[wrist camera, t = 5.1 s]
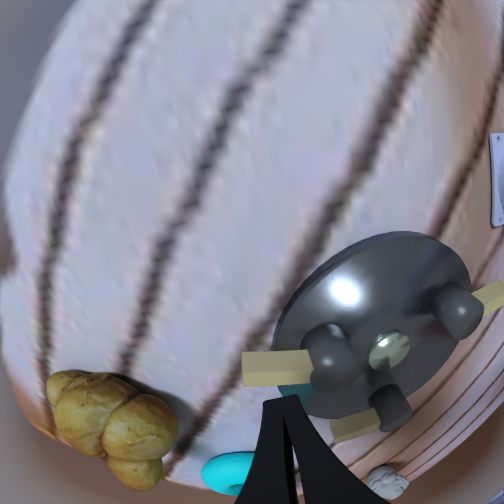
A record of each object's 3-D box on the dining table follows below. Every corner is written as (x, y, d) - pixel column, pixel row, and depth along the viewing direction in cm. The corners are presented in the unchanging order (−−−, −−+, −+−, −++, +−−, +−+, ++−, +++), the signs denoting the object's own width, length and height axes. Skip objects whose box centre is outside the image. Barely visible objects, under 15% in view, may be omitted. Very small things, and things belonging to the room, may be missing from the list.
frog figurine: (396, 464, 34) (409, 494, 27) (359, 479, 34) (369, 510, 28) (400, 452, 32) (415, 485, 25) (359, 469, 32) (370, 504, 25)
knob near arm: (428, 322, 19) (449, 346, 16) (432, 288, 18) (457, 310, 15) (486, 295, 19) (507, 312, 16) (491, 262, 17) (516, 279, 14)
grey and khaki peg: (349, 322, 18) (367, 353, 15) (339, 358, 19) (354, 389, 16) (241, 327, 17) (243, 362, 14) (240, 364, 18) (243, 399, 16)
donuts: (277, 538, 21) (195, 537, 19) (269, 479, 30) (197, 475, 29) (308, 522, 17) (204, 524, 16) (294, 449, 27) (206, 444, 25)
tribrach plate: (469, 209, 17) (486, 217, 16) (445, 369, 24) (454, 381, 22) (245, 268, 18) (246, 283, 16) (289, 425, 25) (293, 442, 23)
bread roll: (51, 383, 21) (21, 439, 14) (69, 328, 19) (25, 397, 12) (156, 440, 25) (147, 500, 18) (201, 402, 23) (196, 480, 15)
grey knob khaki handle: (400, 379, 21) (415, 404, 18) (397, 399, 22) (409, 422, 19) (325, 405, 21) (335, 434, 18) (327, 423, 22) (336, 450, 19)
